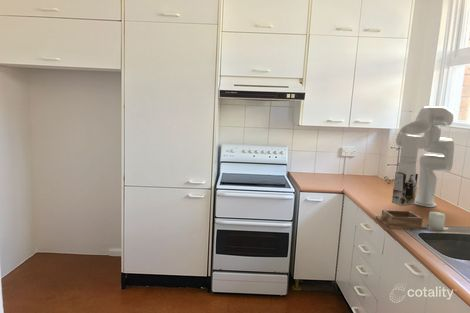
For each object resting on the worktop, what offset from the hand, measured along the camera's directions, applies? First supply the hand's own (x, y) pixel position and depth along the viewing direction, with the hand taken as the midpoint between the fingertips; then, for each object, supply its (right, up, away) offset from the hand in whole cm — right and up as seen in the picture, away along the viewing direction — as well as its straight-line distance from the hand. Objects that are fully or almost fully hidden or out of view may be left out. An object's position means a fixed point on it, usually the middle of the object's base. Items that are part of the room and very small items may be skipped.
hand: (404, 193), depth 176 cm
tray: (-1, -15, +2) cm, 16 cm away
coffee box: (0, -6, +1) cm, 6 cm away
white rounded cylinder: (+16, -17, -1) cm, 23 cm away
